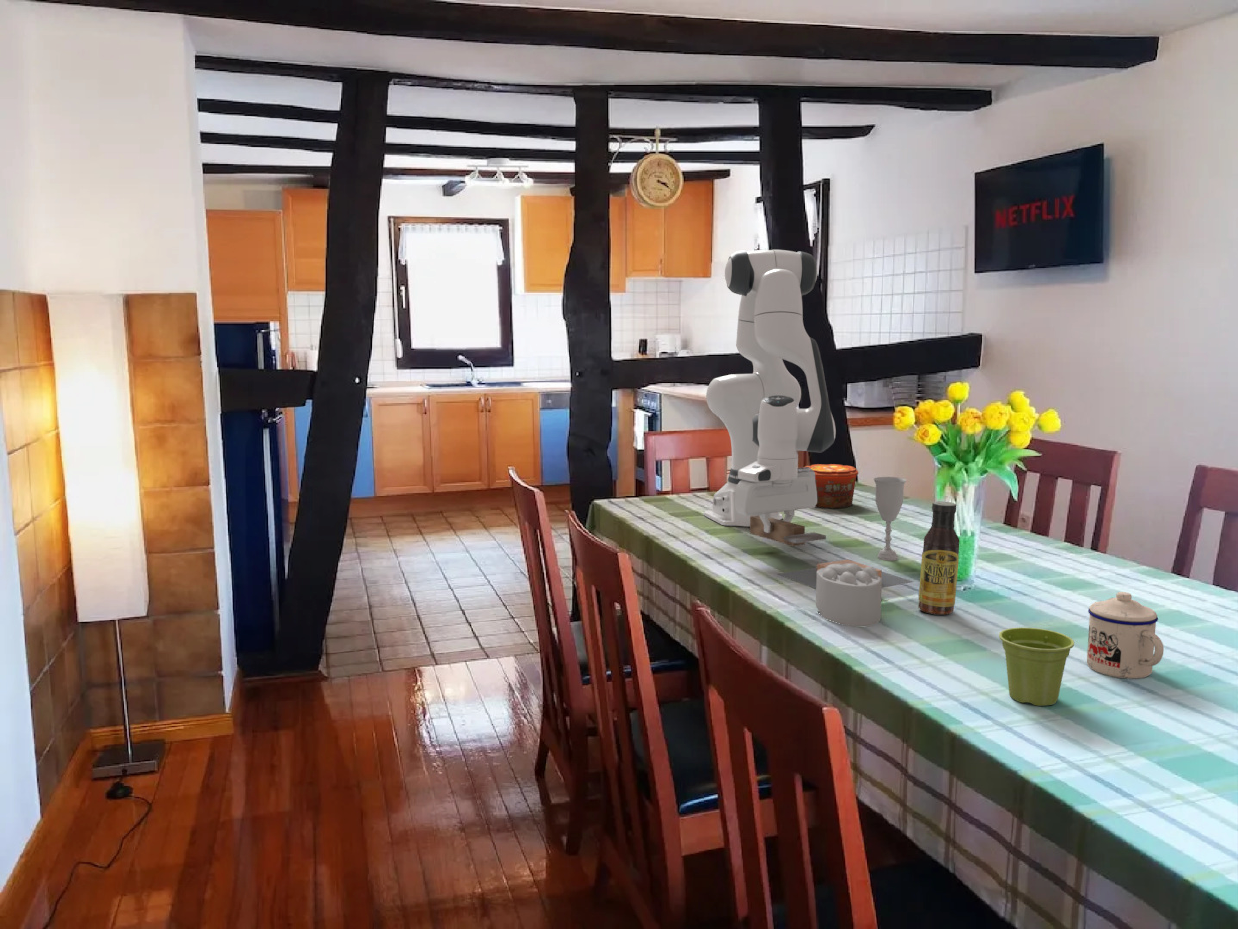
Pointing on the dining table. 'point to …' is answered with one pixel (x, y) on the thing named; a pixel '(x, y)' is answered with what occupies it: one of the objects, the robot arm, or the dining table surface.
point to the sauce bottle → (939, 562)
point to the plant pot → (1035, 663)
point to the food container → (834, 485)
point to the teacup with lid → (1123, 638)
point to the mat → (810, 577)
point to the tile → (824, 565)
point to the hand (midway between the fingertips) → (776, 531)
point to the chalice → (888, 508)
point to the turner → (783, 531)
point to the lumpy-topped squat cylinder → (849, 594)
